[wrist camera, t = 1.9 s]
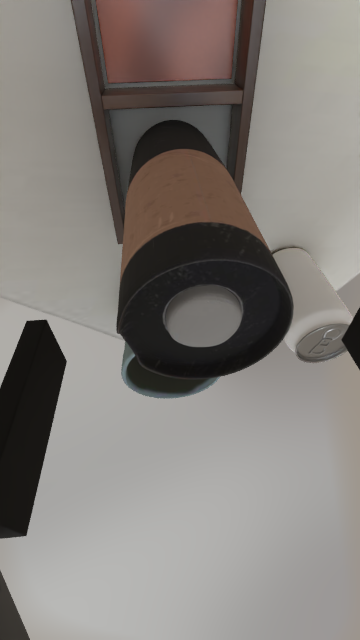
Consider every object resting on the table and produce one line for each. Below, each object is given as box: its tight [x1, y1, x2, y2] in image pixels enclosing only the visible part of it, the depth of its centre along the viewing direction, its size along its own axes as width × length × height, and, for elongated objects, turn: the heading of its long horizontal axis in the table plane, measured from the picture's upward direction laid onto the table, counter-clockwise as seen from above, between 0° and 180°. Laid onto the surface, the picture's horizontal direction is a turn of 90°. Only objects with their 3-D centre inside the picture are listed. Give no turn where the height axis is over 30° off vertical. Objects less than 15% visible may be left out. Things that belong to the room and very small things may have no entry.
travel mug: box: [117, 120, 294, 380], centre depth 19 cm, size 8×8×20 cm
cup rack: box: [71, 0, 266, 244], centre depth 21 cm, size 11×22×3 cm, turn 1°
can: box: [272, 248, 353, 363], centre depth 32 cm, size 6×6×12 cm
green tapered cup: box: [121, 341, 219, 398], centre depth 33 cm, size 10×10×12 cm
